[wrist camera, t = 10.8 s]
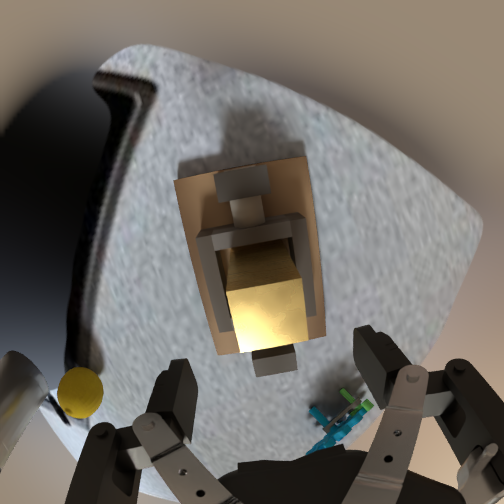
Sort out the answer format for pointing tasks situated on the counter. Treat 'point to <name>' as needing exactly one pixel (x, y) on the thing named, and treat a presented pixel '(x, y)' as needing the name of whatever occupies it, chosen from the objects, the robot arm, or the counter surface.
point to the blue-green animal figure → (344, 427)
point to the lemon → (80, 392)
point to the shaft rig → (252, 242)
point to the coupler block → (265, 296)
